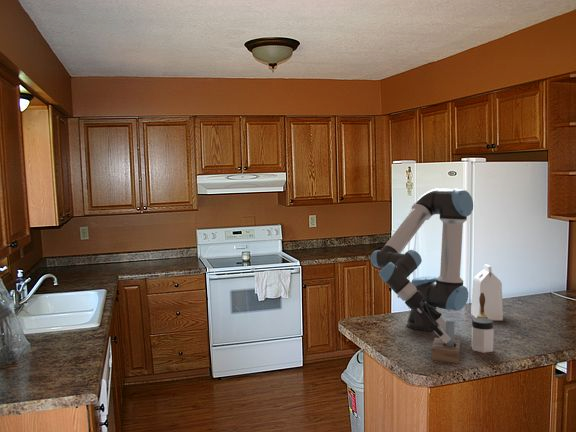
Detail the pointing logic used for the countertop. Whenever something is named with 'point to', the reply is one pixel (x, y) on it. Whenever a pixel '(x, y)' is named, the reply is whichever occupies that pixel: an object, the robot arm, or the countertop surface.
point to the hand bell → (482, 306)
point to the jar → (482, 335)
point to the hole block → (445, 351)
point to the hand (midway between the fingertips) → (449, 336)
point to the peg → (450, 332)
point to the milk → (487, 294)
